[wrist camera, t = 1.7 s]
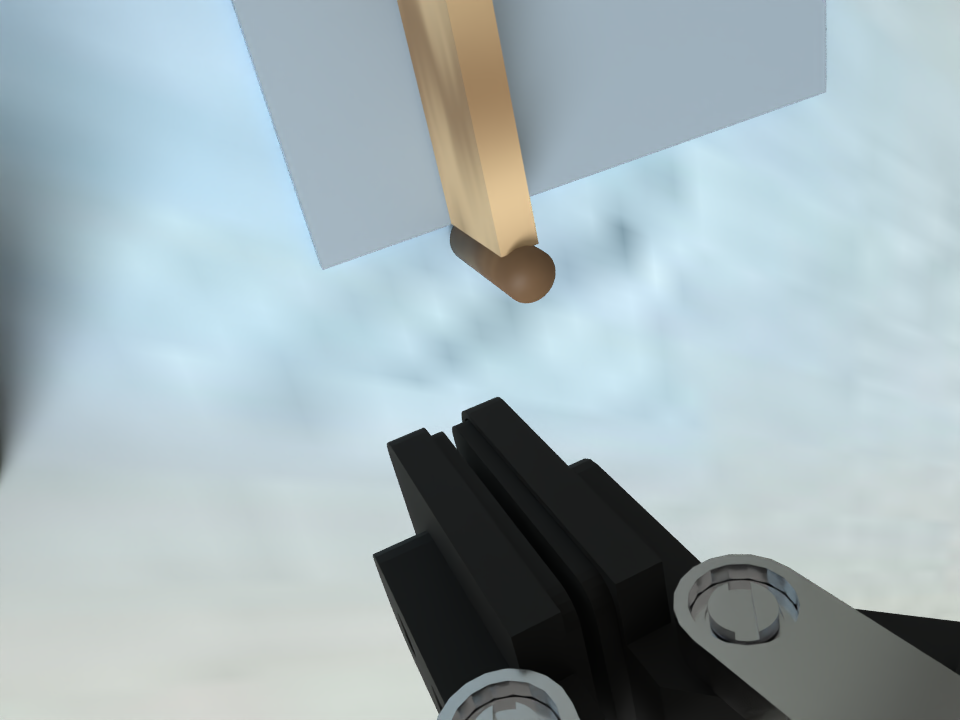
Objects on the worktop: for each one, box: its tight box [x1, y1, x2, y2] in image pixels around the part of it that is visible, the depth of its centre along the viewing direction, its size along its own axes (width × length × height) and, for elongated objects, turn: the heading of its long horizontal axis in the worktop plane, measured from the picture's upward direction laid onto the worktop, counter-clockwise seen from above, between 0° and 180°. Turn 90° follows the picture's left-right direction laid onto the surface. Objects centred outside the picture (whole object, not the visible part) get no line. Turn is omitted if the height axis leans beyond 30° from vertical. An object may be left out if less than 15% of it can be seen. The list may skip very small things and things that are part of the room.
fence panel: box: [397, 0, 555, 303], centre depth 23 cm, size 10×2×4 cm, turn 13°
